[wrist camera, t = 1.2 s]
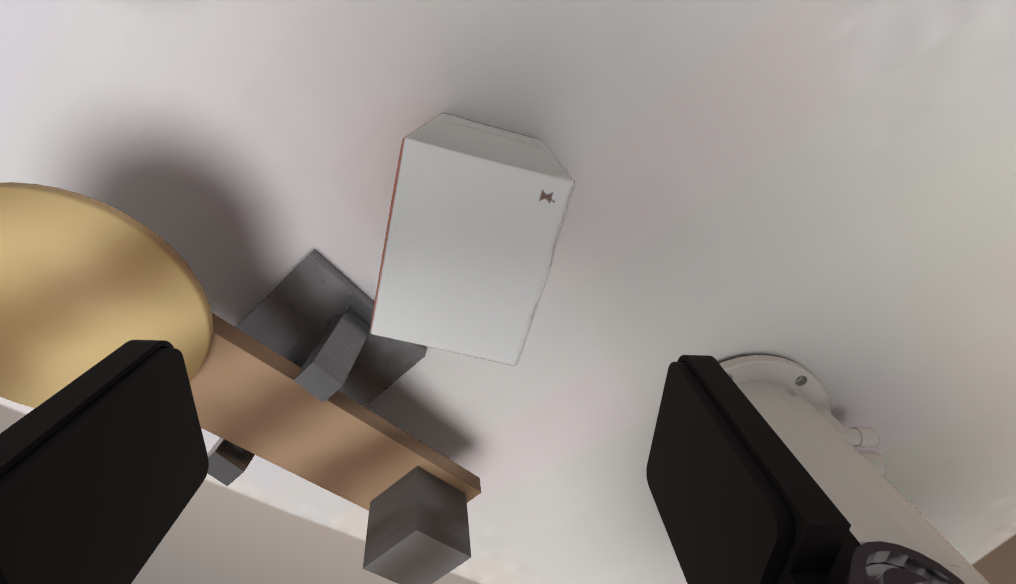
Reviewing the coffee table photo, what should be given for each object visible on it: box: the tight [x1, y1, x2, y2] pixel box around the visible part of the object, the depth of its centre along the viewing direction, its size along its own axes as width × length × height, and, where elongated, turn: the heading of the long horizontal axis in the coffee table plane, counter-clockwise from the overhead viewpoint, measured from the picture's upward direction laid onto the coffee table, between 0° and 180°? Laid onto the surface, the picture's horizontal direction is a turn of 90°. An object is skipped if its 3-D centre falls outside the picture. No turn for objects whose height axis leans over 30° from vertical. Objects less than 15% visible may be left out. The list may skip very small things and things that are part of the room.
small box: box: [370, 113, 574, 366], centre depth 24 cm, size 8×6×13 cm
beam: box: [0, 182, 481, 584], centre depth 26 cm, size 31×12×6 cm, turn 42°
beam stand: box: [207, 250, 427, 486], centre depth 30 cm, size 10×12×8 cm
